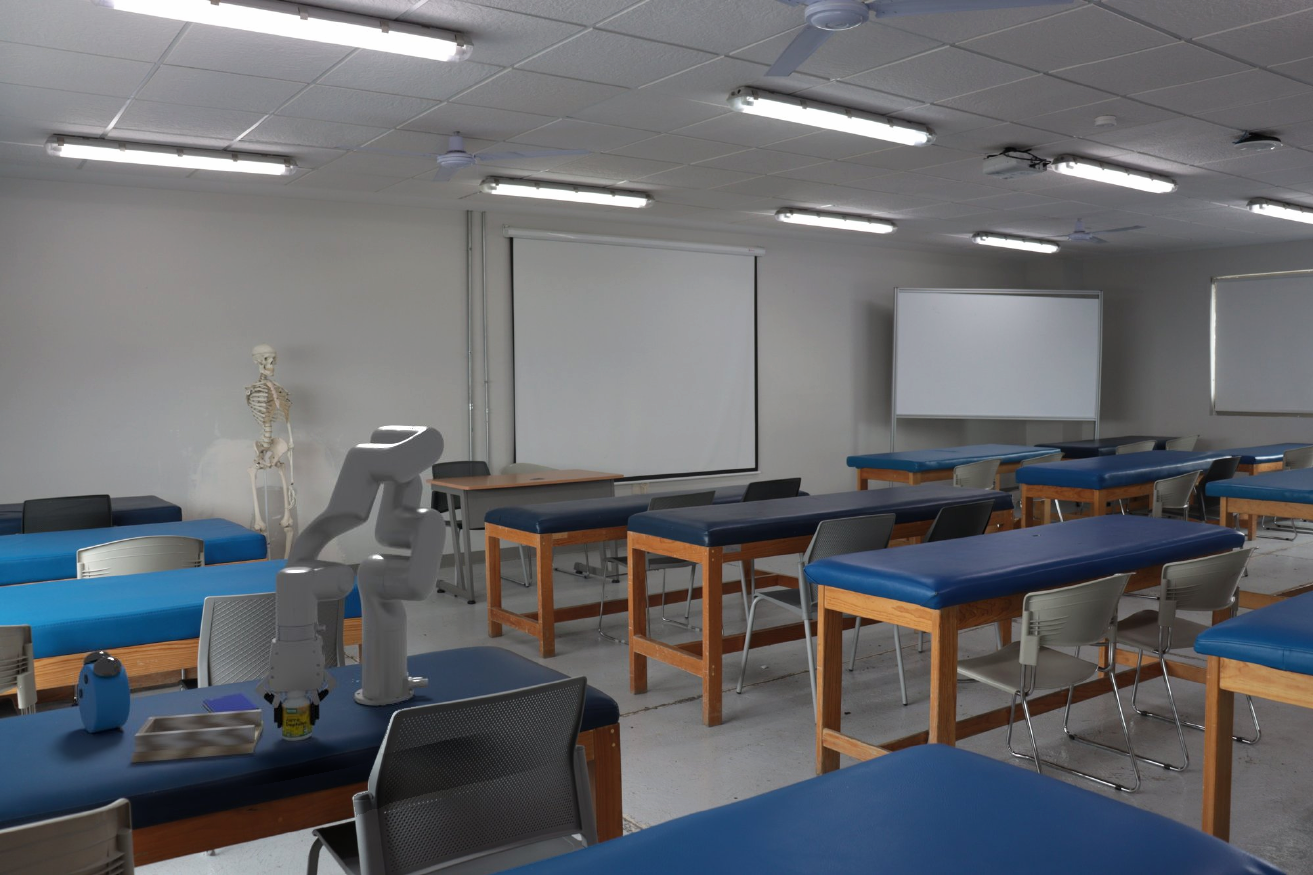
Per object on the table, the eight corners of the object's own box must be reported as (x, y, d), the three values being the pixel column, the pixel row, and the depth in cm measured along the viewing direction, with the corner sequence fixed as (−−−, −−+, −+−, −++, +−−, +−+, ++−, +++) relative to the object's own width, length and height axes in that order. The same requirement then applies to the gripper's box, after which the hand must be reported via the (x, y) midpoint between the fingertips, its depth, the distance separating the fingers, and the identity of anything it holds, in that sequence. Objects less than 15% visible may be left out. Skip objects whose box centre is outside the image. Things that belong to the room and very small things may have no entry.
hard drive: (202, 699, 200) (217, 715, 190) (243, 692, 205) (259, 707, 195) (202, 706, 200) (217, 722, 190) (243, 699, 205) (259, 714, 195)
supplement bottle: (311, 730, 185) (311, 682, 185) (311, 739, 180) (311, 690, 179) (282, 733, 183) (282, 684, 183) (281, 742, 178) (281, 692, 178)
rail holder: (263, 727, 186) (263, 706, 186) (252, 752, 173) (252, 730, 173) (151, 735, 181) (151, 714, 181) (132, 762, 168) (131, 739, 167)
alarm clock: (131, 734, 182) (130, 657, 181) (95, 742, 177) (94, 663, 177) (110, 717, 191) (110, 644, 190) (76, 724, 187) (75, 650, 186)
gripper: (344, 625, 187) (344, 714, 187) (251, 629, 182) (252, 721, 183) (342, 634, 179) (342, 727, 180) (245, 639, 175) (246, 735, 175)
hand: (296, 723), depth 181 cm, fingers closed on supplement bottle, 5 cm apart
